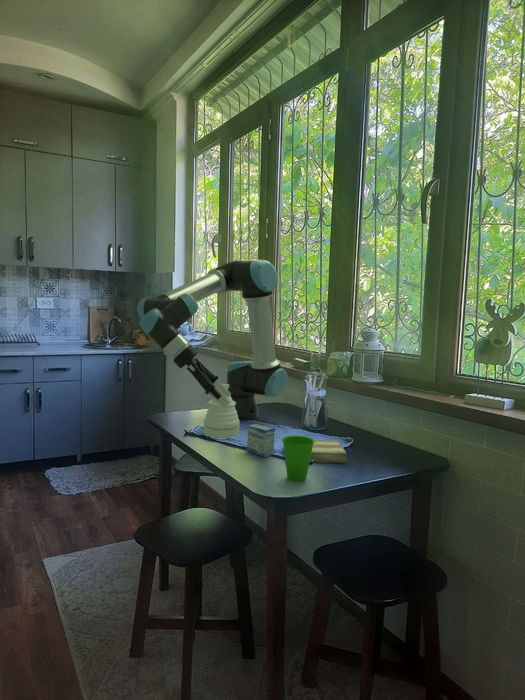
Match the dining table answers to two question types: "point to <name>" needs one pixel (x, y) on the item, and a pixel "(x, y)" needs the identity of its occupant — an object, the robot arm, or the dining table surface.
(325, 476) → the dining table surface
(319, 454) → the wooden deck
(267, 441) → the medicine box
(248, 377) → the robot arm
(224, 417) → the honey pot
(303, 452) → the cup
